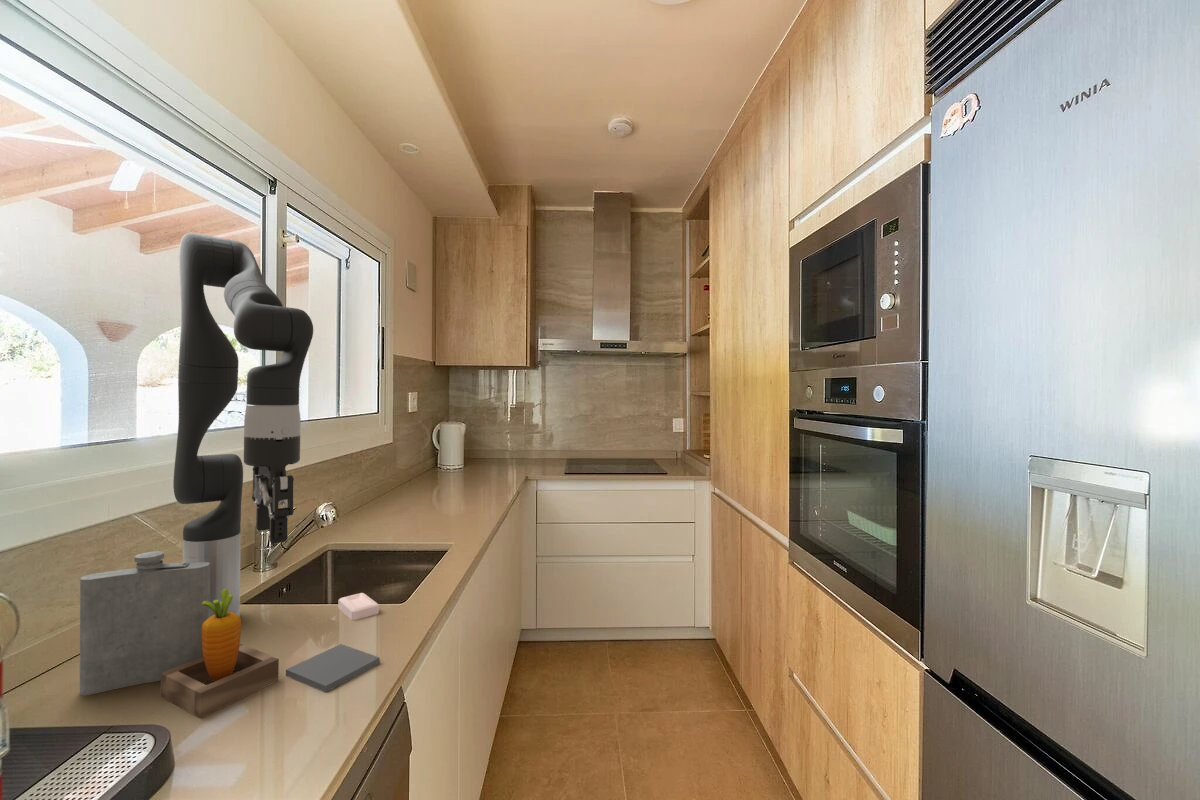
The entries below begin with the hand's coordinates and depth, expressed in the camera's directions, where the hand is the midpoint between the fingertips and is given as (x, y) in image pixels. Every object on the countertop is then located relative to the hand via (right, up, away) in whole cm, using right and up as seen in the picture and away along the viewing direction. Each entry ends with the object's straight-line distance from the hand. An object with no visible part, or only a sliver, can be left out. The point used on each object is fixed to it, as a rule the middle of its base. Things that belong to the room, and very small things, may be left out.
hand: (271, 535), depth 83 cm
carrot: (-7, -24, -1) cm, 24 cm away
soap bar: (+1, -24, +28) cm, 37 cm away
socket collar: (-7, -23, -1) cm, 24 cm away
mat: (+8, -23, +5) cm, 25 cm away
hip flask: (-20, -23, +1) cm, 31 cm away
